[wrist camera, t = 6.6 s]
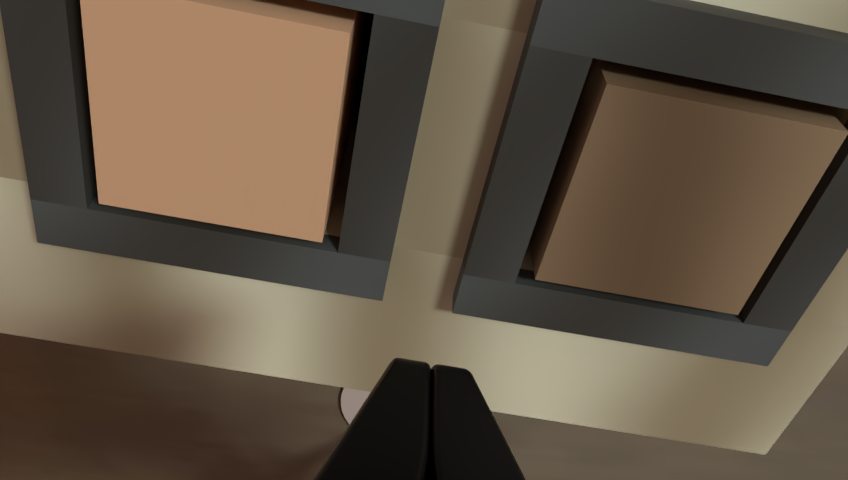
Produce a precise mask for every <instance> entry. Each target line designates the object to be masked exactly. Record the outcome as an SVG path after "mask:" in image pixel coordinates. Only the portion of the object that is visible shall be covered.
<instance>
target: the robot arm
mask: <svg viewBox="0 0 848 480" xmlns="http://www.w3.org/2000/svg"><path fill="white" fill-rule="evenodd" d="M313 480H525V478H524V476H523V474H522V472H521V470H520V468H519V466H518V464H517V462H516V460H515V458H514V456H513V454H512V452H511V450H510V448H509V446H508V444H507V442H506V440H505V438H504V436H503V434H502V432H501V430H500V428H499V426H498V424H497V422H496V420H495V418H494V416H493V414H492V412H491V410H490V408H489V406H488V405H487V403H486V401H485V399H484V397H483V395H482V393H481V391H480V389H479V387H478V385H477V383H476V381H475V379H474V377H473V375H472V373H471V372H470V371H468V370H467V369H464V368H458V367H452V366H446V365H440V364H436V365H434V366H433V367H432V368H430V365H429V364H428V363H426V362H422V361H416V360H410V359H404V358H395V359H393V360H392V361H391V362H390V364H389V365H388V367H387V368H386V370H385V371H384V373H383V374H382V376H381V377H380V379H379V380H378V382H377V383H376V385H375V386H374V388H373V389H372V391H371V393H370V394H369V396H368V397H367V399H366V400H365V402H364V403H363V405H362V406H361V408H360V409H359V411H358V412H357V414H356V415H355V417H354V418H353V420H352V421H351V423H350V424H349V426H348V428H347V429H346V431H345V432H344V434H343V435H342V437H341V438H340V440H339V441H338V443H337V444H336V446H335V447H334V449H333V450H332V452H331V453H330V455H329V456H328V458H327V459H326V461H325V463H324V464H323V466H322V467H321V469H320V470H319V472H318V473H317V475H316V476H315V478H314V479H313Z"/></svg>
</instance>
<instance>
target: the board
mask: <svg viewBox="0 0 848 480" xmlns="http://www.w3.org/2000/svg"><path fill="white" fill-rule="evenodd" d="M308 1H313V2H318V3H323V4H328V5H333V6H338V7H342V8H347V9H352V10H357V11H362V12H367V13H372V14H374V18H373V24H372V31H371V38H370V44H369V51H368V57H367V64H366V70H365V77H364V84H363V90H362V97H361V103H360V110H359V116H354V120H353V124H352V128H351V132H350V135H349V139H348V143H347V147H346V151H345V155H344V159H343V163H342V167H341V171H340V175H339V179H338V183H337V186H336V190H335V194H334V198H333V202H332V206H331V210H330V214H329V218H328V222H327V226H326V230H325V234H324V237H323V241H322V243H321V242H315V241H309V240H304V239H298V238H292V237H287V236H281V235H275V234H269V233H264V232H258V231H252V230H247V229H241V228H235V227H229V226H224V225H218V224H212V223H207V222H201V221H195V220H189V219H184V218H178V217H172V216H167V215H161V214H155V213H149V212H144V211H138V210H132V209H127V208H121V207H115V206H109V205H104V204H99V202H98V191H97V180H96V169H95V158H94V147H93V137H92V126H91V115H90V104H89V93H88V82H87V71H86V60H85V49H84V38H83V28H82V17H81V6H80V0H0V333H4V334H11V335H17V336H23V337H29V338H36V339H42V340H48V341H55V342H61V343H67V344H73V345H80V346H86V347H92V348H98V349H105V350H111V351H117V352H124V353H130V354H136V355H142V356H149V357H155V358H161V359H168V360H174V361H180V362H186V363H193V364H199V365H205V366H211V367H218V368H224V369H230V370H237V371H243V372H249V373H255V374H262V375H268V376H274V377H281V378H287V379H293V380H299V381H306V382H312V383H318V384H324V385H331V386H337V387H343V388H350V389H356V390H362V391H368V392H371V391H372V389H373V388H374V386H375V385H376V383H377V382H378V380H379V379H380V377H381V376H382V374H383V373H384V371H385V370H386V368H387V367H388V365H389V364H390V362H391V361H392V360H393V359H395V358H404V359H410V360H416V361H422V362H426V363H428V364H429V365H430V368H432V367H433V366H434V365H436V364H440V365H446V366H452V367H458V368H464V369H467V370H468V371H470V372H471V373H472V375H473V377H474V379H475V381H476V383H477V385H478V387H479V389H480V391H481V393H482V395H483V397H484V399H485V401H486V403H487V405H488V406H489V408H490V410H491V411H494V412H500V413H507V414H513V415H519V416H525V417H532V418H538V419H544V420H550V421H557V422H563V423H569V424H576V425H582V426H588V427H594V428H601V429H607V430H613V431H620V432H626V433H632V434H638V435H645V436H651V437H657V438H663V439H670V440H676V441H682V442H689V443H695V444H701V445H707V446H714V447H720V448H726V449H733V450H739V451H745V452H751V453H758V454H764V455H766V453H767V452H768V451H769V449H770V448H771V447H772V445H773V444H774V443H775V441H776V440H777V439H778V437H779V436H780V435H781V434H782V432H783V431H784V430H785V428H786V427H787V426H788V424H789V423H790V422H791V420H792V419H793V418H794V416H795V415H796V414H797V412H798V411H799V410H800V408H801V407H802V406H803V404H804V403H805V402H806V400H807V399H808V398H809V396H810V395H811V394H812V392H813V391H814V390H815V388H816V387H817V386H818V384H819V383H820V382H821V381H822V379H823V378H824V377H825V375H826V374H827V373H828V371H829V370H830V369H831V367H832V366H833V365H834V363H835V362H836V361H837V359H838V358H839V357H840V355H841V354H842V353H843V351H844V350H845V349H846V347H847V346H848V135H847V136H846V138H845V140H844V141H843V143H842V145H841V146H840V148H839V150H838V151H837V153H836V154H835V156H834V158H833V159H832V161H831V163H830V164H829V166H828V168H827V169H826V171H825V173H824V174H823V176H822V178H821V179H820V181H819V182H818V184H817V186H816V187H815V189H814V191H813V192H812V194H811V196H810V197H809V199H808V201H807V202H806V204H805V206H804V207H803V209H802V210H801V212H800V214H799V215H798V217H797V219H796V220H795V222H794V224H793V225H792V227H791V229H790V230H789V232H788V234H787V235H786V237H785V238H784V240H783V242H782V243H781V245H780V247H779V248H778V250H777V252H776V253H775V255H774V257H773V258H772V260H771V262H770V263H769V265H768V266H767V268H766V270H765V271H764V273H763V275H762V276H761V278H760V280H759V281H758V283H757V285H756V286H755V288H754V290H753V291H752V293H751V294H750V296H749V298H748V299H747V301H746V303H745V304H744V306H743V308H742V309H741V311H740V313H739V314H738V315H735V314H729V313H723V312H717V311H712V310H706V309H700V308H695V307H689V306H683V305H677V304H672V303H666V302H660V301H655V300H649V299H643V298H637V297H632V296H626V295H620V294H615V293H609V292H603V291H598V290H592V289H586V288H580V287H575V286H569V285H563V284H558V283H552V282H546V281H540V280H535V275H534V268H533V260H532V253H531V245H530V238H531V235H532V232H533V229H534V226H535V224H536V221H537V218H538V215H539V212H540V209H541V206H542V203H543V201H544V198H545V195H546V192H547V189H548V186H549V183H550V180H551V177H552V175H553V172H554V169H555V166H556V163H557V160H558V157H559V154H560V152H561V149H562V146H563V143H564V140H565V137H566V134H567V131H568V128H569V126H570V123H571V120H572V117H573V114H574V111H575V108H576V105H577V103H578V100H579V97H580V94H581V91H582V88H583V85H584V82H585V79H586V77H587V74H588V71H589V68H590V65H591V62H592V59H593V58H596V59H600V60H605V61H610V62H615V63H620V64H625V65H630V66H635V67H640V68H645V69H650V70H655V71H660V72H665V73H670V74H675V75H680V76H685V77H690V78H695V79H700V80H705V81H710V82H715V83H720V84H725V85H729V86H734V87H739V88H744V89H749V90H754V91H759V92H764V93H769V94H774V95H779V96H784V97H789V98H794V99H799V100H804V101H809V102H814V103H819V104H824V105H825V106H826V107H827V108H828V109H829V111H830V112H831V113H832V114H833V115H834V116H835V117H836V118H837V119H838V120H839V122H840V123H841V124H842V125H843V126H844V127H845V128H846V129H847V130H848V0H308Z"/></svg>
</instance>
